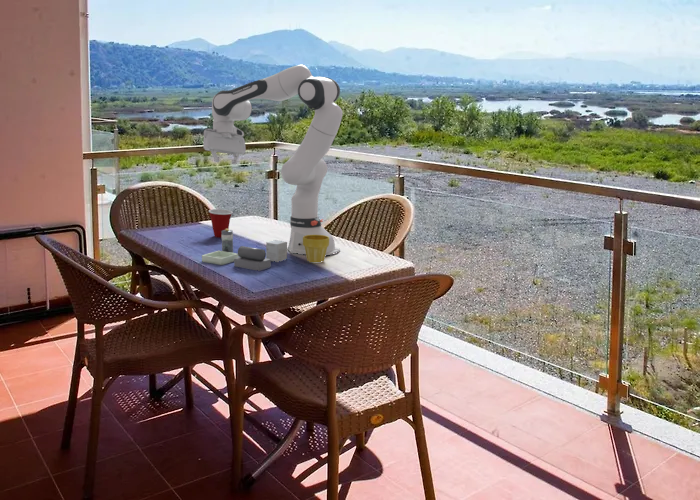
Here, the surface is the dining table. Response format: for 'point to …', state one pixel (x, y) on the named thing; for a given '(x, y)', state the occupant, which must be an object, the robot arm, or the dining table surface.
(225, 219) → the plastic cup
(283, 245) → the product box
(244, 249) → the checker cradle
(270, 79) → the robot arm
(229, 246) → the battery cell
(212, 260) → the tray
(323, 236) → the plant pot
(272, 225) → the dining table surface
